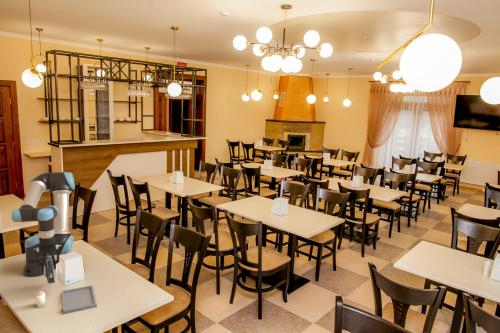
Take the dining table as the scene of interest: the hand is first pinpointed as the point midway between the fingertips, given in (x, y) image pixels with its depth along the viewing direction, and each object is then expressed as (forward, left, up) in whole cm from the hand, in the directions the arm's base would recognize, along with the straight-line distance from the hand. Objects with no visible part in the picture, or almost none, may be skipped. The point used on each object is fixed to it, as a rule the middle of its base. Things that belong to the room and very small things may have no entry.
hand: (49, 275), depth 198 cm
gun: (0, 0, -3) cm, 3 cm away
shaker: (+13, -4, -11) cm, 17 cm away
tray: (+15, +14, -11) cm, 23 cm away
